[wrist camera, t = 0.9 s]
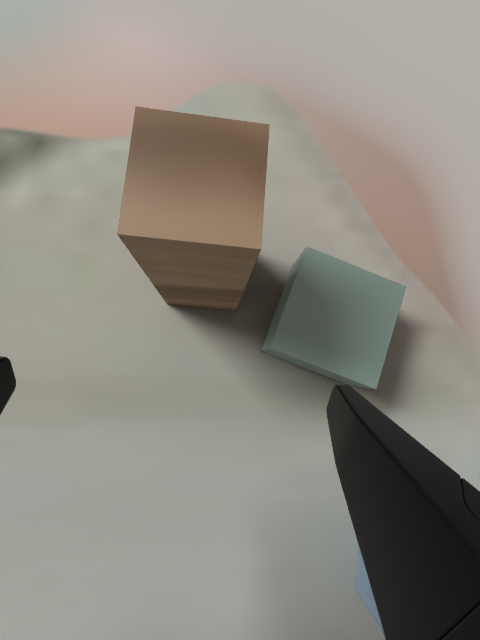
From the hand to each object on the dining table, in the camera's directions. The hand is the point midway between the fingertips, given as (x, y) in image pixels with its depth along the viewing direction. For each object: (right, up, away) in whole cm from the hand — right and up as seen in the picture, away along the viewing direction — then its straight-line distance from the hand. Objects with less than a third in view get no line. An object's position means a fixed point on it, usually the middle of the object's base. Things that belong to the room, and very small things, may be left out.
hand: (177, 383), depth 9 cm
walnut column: (-1, +5, +14) cm, 15 cm away
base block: (+8, +1, +15) cm, 17 cm away
